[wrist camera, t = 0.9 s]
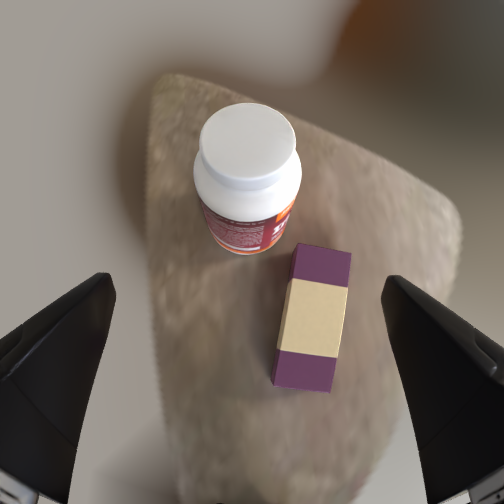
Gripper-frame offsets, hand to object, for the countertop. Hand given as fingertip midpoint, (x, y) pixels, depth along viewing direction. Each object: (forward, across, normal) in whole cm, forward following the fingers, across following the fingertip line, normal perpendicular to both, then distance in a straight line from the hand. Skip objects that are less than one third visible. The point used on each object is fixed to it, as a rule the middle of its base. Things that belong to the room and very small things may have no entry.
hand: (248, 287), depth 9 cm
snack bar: (+9, -4, +10) cm, 15 cm away
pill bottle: (+15, 0, +5) cm, 16 cm away
